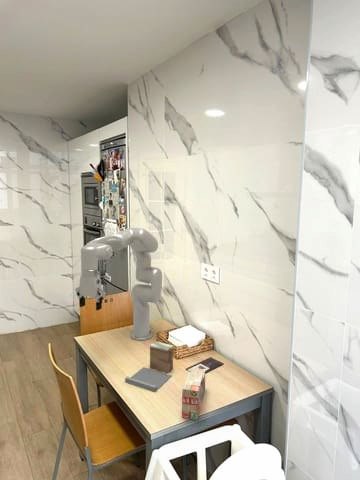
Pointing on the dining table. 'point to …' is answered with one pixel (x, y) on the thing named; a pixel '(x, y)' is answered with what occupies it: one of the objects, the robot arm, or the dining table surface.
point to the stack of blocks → (193, 394)
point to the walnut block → (161, 357)
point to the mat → (148, 379)
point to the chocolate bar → (206, 365)
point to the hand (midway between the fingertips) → (90, 307)
